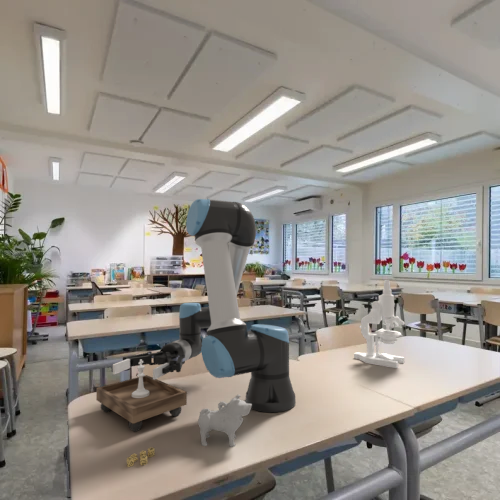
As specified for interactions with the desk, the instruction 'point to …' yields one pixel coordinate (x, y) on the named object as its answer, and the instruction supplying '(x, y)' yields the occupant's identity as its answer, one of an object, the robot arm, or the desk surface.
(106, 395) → the caster cart
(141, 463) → the dice set
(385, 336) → the microscope
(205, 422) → the white dog statue
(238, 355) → the robot arm
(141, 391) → the chess piece
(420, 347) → the desk surface
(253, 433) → the desk surface
